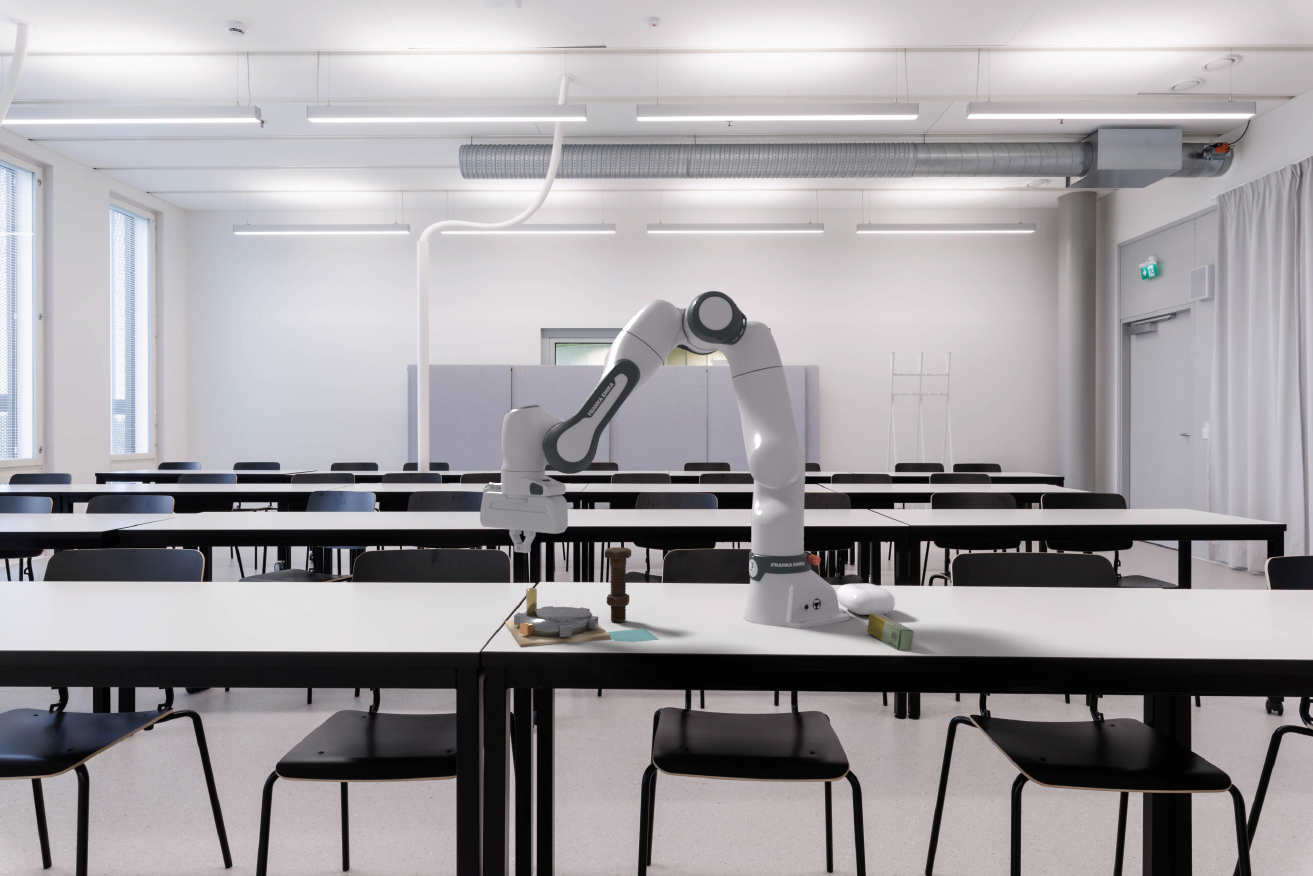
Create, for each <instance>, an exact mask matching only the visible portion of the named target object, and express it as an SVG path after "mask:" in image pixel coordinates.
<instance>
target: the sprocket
mask: <svg viewBox="0 0 1313 876" xmlns="http://www.w3.org/2000/svg"><path fill="white" fill-rule="evenodd" d="M537 592H538V588H534V587H530V588H526V595H525V596H526V597H525V599H526V602H525V603H526V606H525V607H526V608H525V609H526V611H524V612H517V613H516V614H514V615H513V620H514V625H520V634H524V635H531V634H533V635H541V636H560V637H565V636H572V634H576V633H580V632H583V631H586V630H588V629H589V628H592V629H596V627H597V626H598V624H599V616H594V615H593V613H592V612H591V611H590V608H588V607H572V606H571V607H570V606H553V605H550V606H542V607H540V608H537V606H538V605H537V603H538V601H537V598H538V597H537V595H538V594H537Z"/></svg>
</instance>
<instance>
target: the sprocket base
mask: <svg viewBox="0 0 1313 876" xmlns="http://www.w3.org/2000/svg"><path fill="white" fill-rule="evenodd" d="M504 624H505V627H506V628H507V630H508V631H509V633H510V634H511V636H512V637H513V639H514V640H515V642H516V643H517V645H518V646H519V648H524V646H526V647H535V645H537V646H546V645H545V644H548V645H558V644H571V643H579V642H589V641H600V640H611V637H610V634H609V633H608V632H609V631H607V630H605V628H603V626H601V625H600V624H599V623H598V626H597V627H596V629H592V628H589V629H588V630H586V631H583V632H580V633H576V634H572V636H565V637H560V636H541V635H533V634H531V635H524V634H520V625H514V619H513V620H505V623H504Z"/></svg>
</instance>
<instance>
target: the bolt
mask: <svg viewBox="0 0 1313 876" xmlns="http://www.w3.org/2000/svg"><path fill="white" fill-rule="evenodd" d="M631 556H632V549H631V548H629V547H623V546H622V547H619V546H615V547H608V548H606V549H605V550H604V558H606V559H609V565H610V569H609V571H610V587H609V588H610V589H609V590H610V593H609V594H608V595H607V597H606V604H607V605H608V606H609V607H610V621H611V622H612V623H623V622H624V623H625V621H626V620H627V618H626V617H627V616H626V615H627V613H626V610H627V609H626V606H628V605H629V604H630V595H629V594H628V593H626V592H627V590H626V589H627V587H626V586H627V585H626V584H627V581H626V579H627V577H626V576H627V575H626V574H627V573H626V569H627V568H626V567H627V559H630V558H631Z"/></svg>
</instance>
